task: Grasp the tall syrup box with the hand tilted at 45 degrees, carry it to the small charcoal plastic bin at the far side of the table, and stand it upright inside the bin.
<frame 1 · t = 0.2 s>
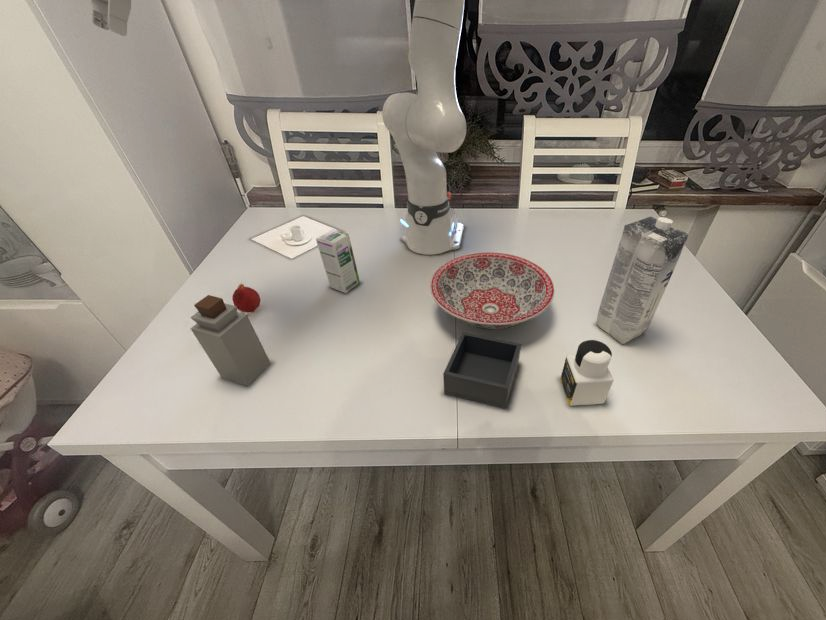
hand: (108, 30, 55), 54 cm above the table, tool tilted 30°, fingers open, 8 cm apart
juice carton: (618, 330, 93), on the table
syrup box: (345, 285, 105), on the table
teacup and saucer: (298, 236, 124), on the table
ceramic bowl: (490, 311, 97), on the table
perfume bottle: (247, 371, 82), on the table
onion: (252, 312, 96), on the table
medicine bottle: (581, 391, 79), on the table
bin: (482, 378, 81), on the table
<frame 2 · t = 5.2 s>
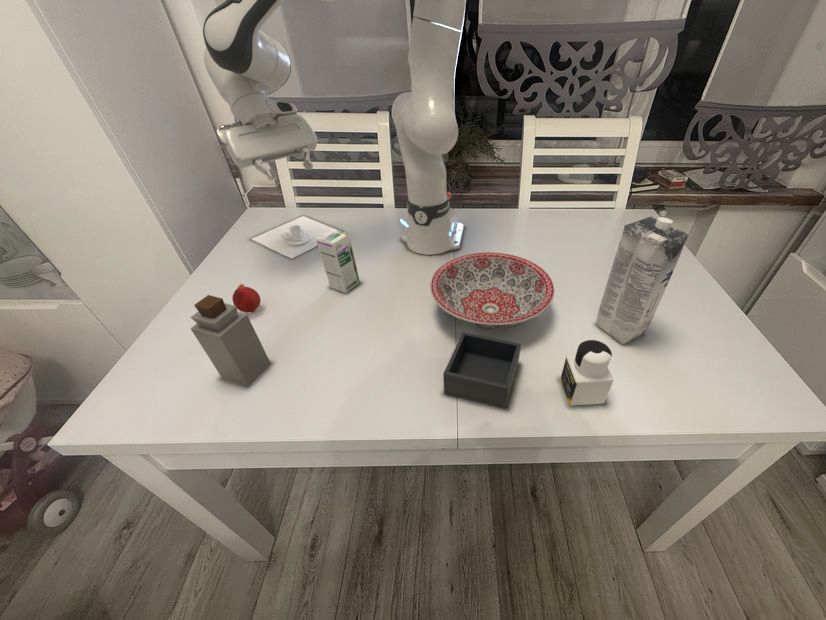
hand: (292, 173, 92), 26 cm above the table, tool tilted 45°, fingers open, 8 cm apart
nothing on the table moved.
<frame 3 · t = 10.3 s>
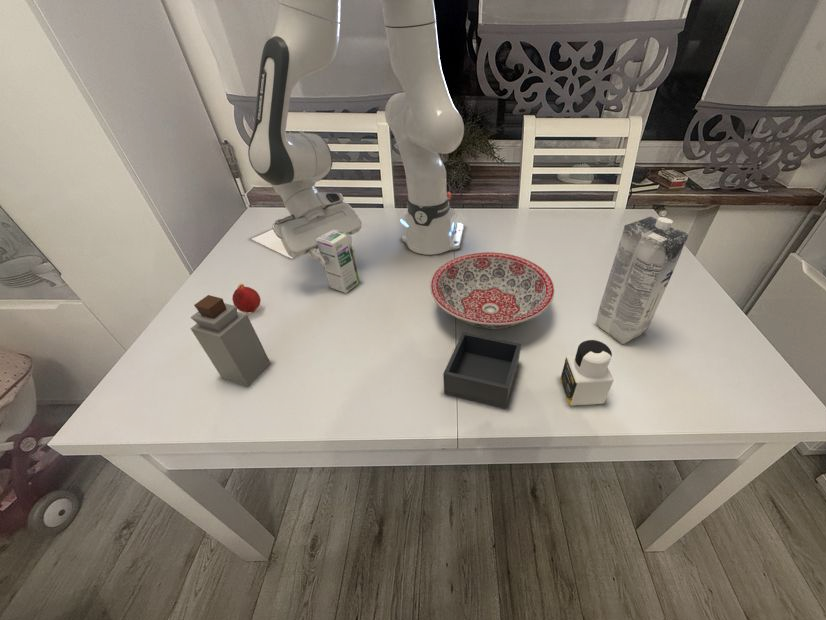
hand: (339, 258, 98), 8 cm above the table, tool tilted 45°, fingers closed on syrup box, 6 cm apart
syrup box: (345, 285, 105), on the table, touching gripper
everything else where it was.
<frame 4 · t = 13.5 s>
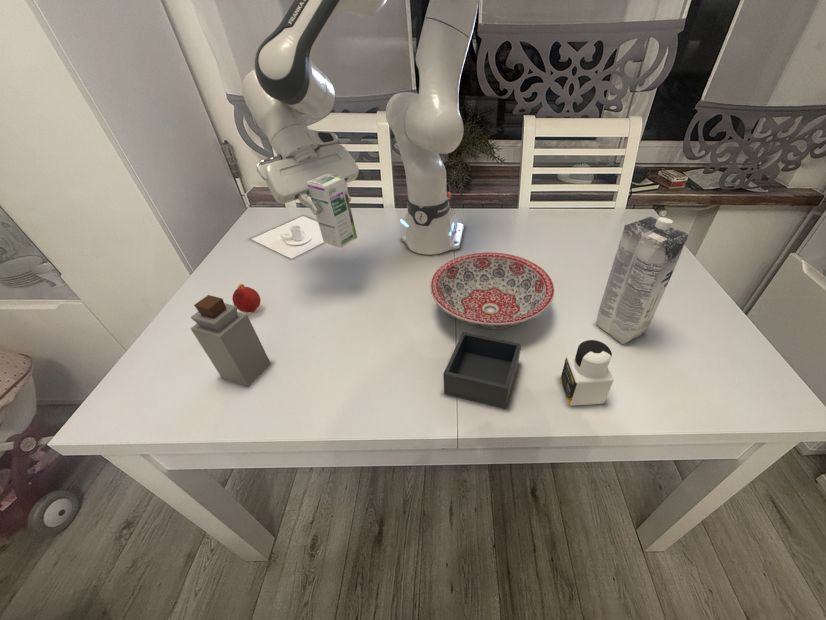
hand: (333, 207, 87), 23 cm above the table, tool tilted 45°, fingers closed on syrup box, 6 cm apart
syrup box: (340, 241, 93), point 14 cm above the table, touching gripper
everything else where it was.
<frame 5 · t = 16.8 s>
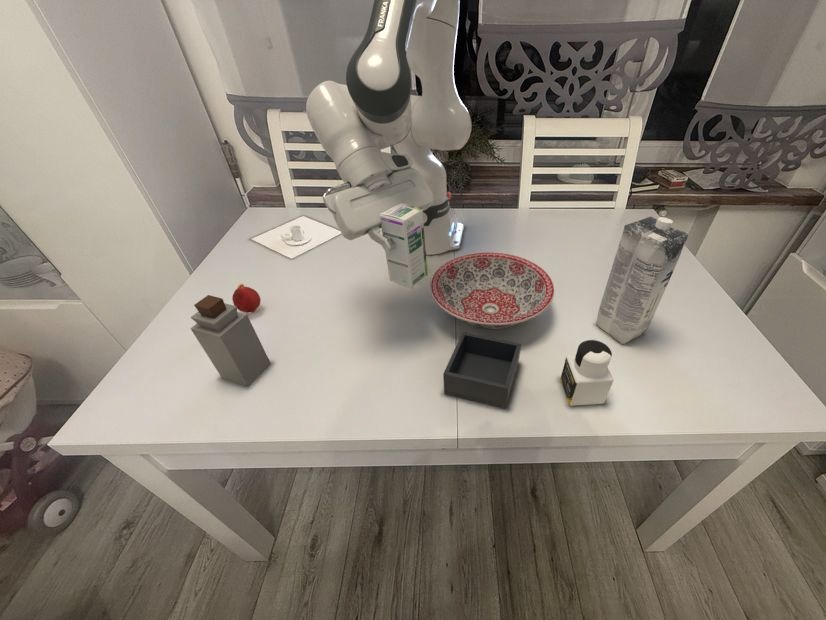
hand: (407, 242, 74), 24 cm above the table, tool tilted 45°, fingers closed on syrup box, 6 cm apart
syrup box: (408, 279, 80), point 15 cm above the table, touching gripper
everything else where it was.
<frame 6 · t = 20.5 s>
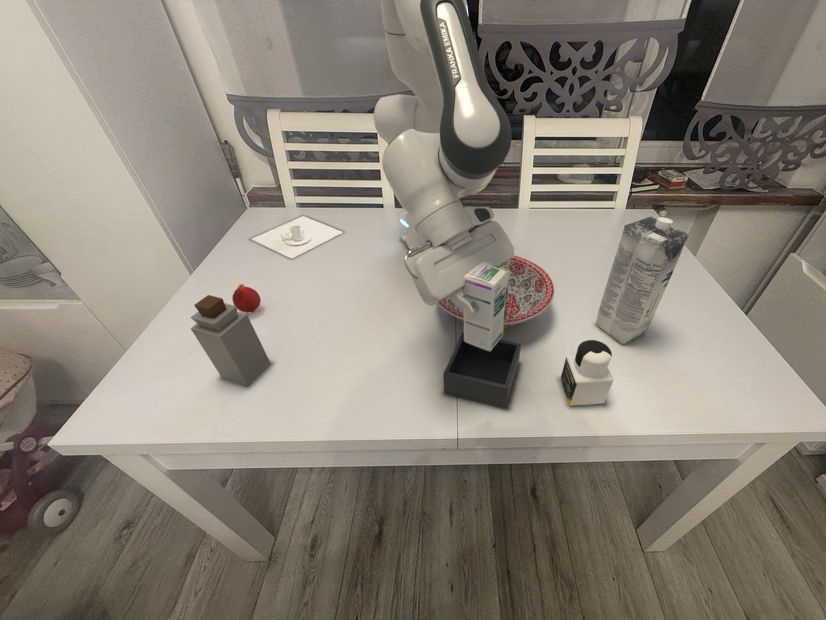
hand: (488, 303, 67), 20 cm above the table, tool tilted 45°, fingers closed on syrup box, 6 cm apart
syrup box: (483, 339, 73), point 11 cm above the table, touching gripper
everything else where it was.
when the fingers open (9 cm above the table, at t = 23.8 s): syrup box stays where it is, resting on bin.
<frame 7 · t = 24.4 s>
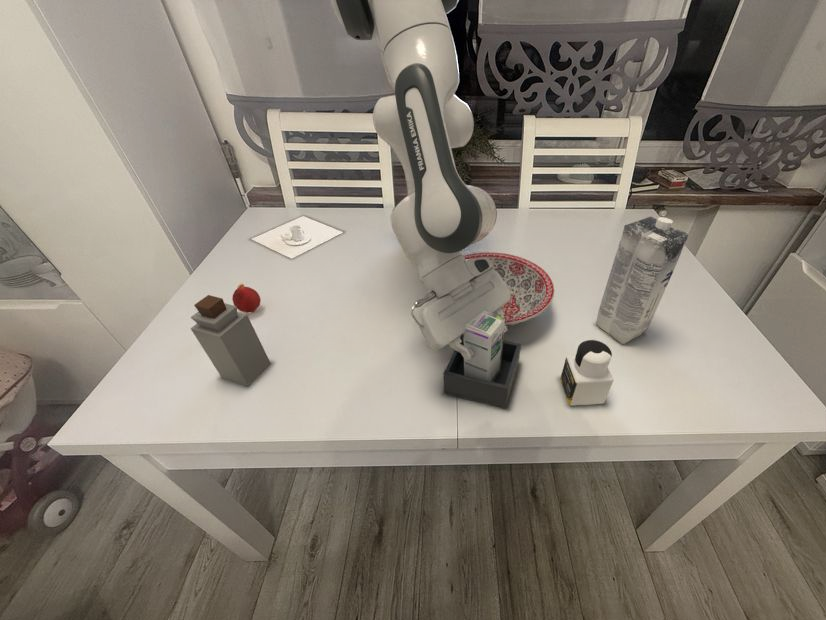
hand: (487, 345, 74), 10 cm above the table, tool tilted 45°, fingers open, 8 cm apart
syrup box: (481, 376, 80), point 1 cm above the table, touching bin
everything else where it was.
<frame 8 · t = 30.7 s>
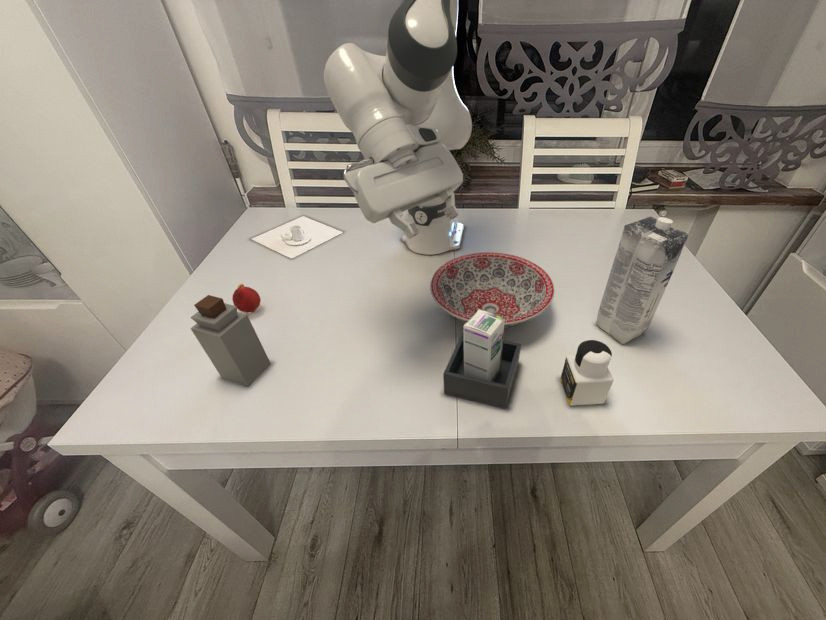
hand: (435, 226, 66), 29 cm above the table, tool tilted 45°, fingers open, 8 cm apart
nothing on the table moved.
at the end: syrup box inside the target area in the bin (0.2 cm from its centre), point 0.8 cm above the bin's base; syrup box tilted 0°; the gripper is holding nothing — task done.
